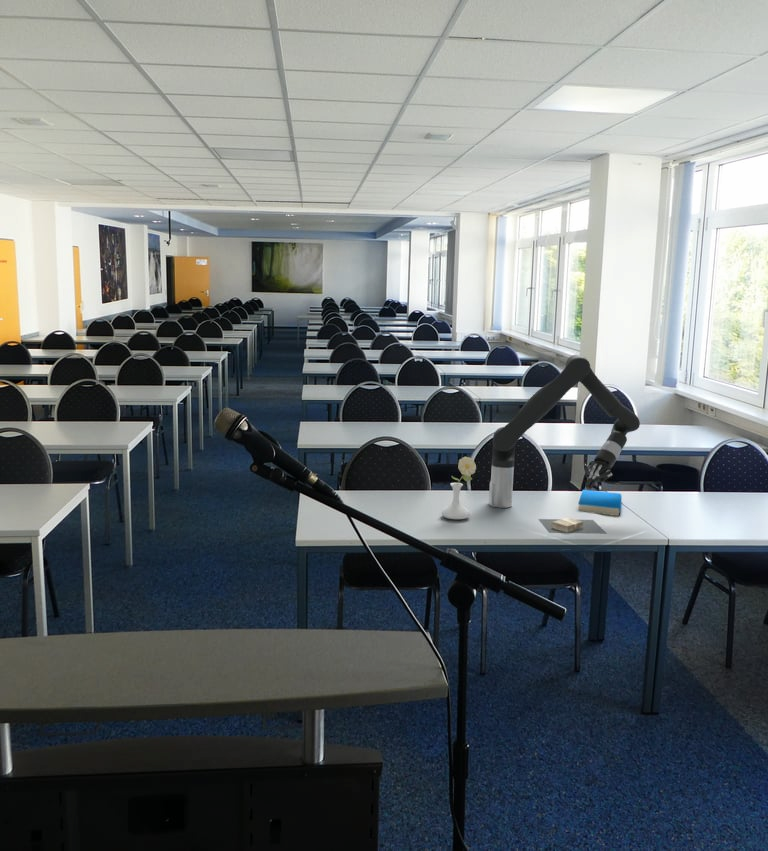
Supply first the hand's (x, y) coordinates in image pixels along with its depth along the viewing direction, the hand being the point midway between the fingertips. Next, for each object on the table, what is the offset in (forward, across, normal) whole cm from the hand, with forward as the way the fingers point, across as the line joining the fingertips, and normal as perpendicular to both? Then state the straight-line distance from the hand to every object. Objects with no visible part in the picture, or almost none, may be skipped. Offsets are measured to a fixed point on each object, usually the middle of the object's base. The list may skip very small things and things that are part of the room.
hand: (587, 487), depth 310 cm
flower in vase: (+37, -34, -16) cm, 53 cm away
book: (-8, -10, +28) cm, 31 cm away
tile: (+15, +2, +2) cm, 16 cm away
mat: (+18, +2, +2) cm, 18 cm away
